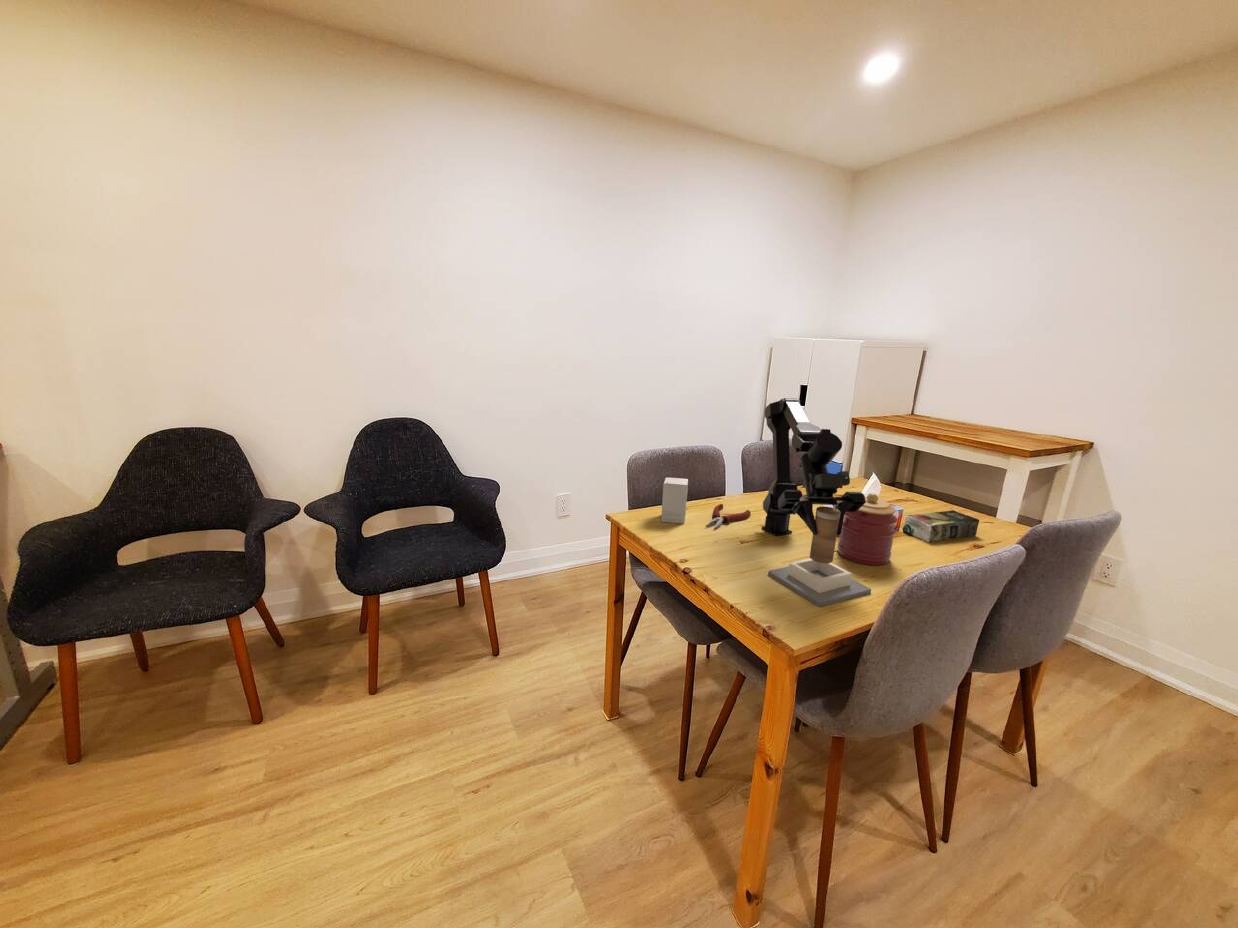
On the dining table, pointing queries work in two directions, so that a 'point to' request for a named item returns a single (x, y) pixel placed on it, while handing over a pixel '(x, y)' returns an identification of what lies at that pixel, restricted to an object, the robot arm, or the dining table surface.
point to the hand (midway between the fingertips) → (827, 534)
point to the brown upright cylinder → (825, 534)
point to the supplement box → (674, 500)
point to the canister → (868, 532)
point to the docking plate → (819, 581)
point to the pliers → (726, 517)
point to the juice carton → (941, 526)
